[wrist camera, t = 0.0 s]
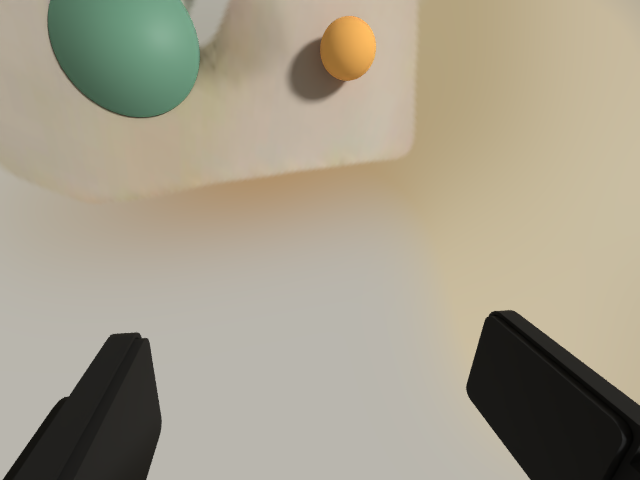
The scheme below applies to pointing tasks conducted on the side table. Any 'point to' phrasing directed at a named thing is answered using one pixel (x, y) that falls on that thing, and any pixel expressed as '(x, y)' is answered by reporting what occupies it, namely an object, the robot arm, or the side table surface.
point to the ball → (348, 48)
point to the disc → (126, 52)
